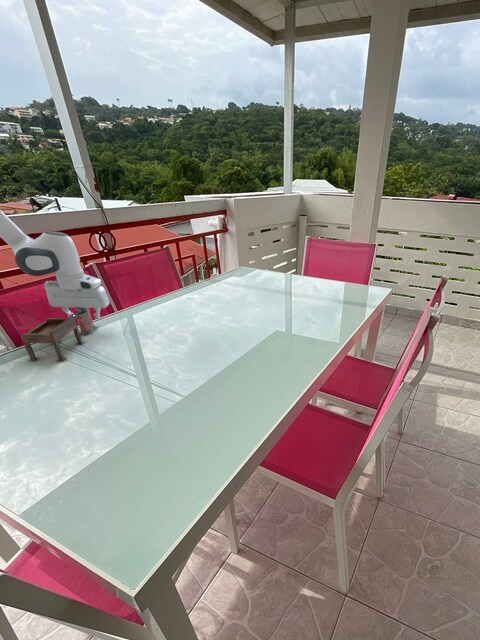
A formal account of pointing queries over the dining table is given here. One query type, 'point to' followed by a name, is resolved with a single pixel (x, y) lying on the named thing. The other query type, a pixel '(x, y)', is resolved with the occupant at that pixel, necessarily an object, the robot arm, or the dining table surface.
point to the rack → (51, 334)
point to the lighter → (84, 320)
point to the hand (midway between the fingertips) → (85, 318)
